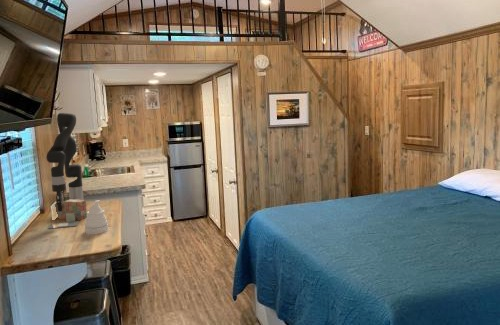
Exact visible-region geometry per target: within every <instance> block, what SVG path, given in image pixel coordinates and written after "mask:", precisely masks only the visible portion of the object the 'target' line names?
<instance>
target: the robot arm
mask: <svg viewBox="0 0 500 325" xmlns="http://www.w3.org/2000/svg"><path fill="white" fill-rule="evenodd" d="M56 123H57V127H58V131H59V134H57V135H56V137H55V140H54V142H53V144H52V146H51V147H50V149H49V150H48V151H47V153H46V157H45V159H46V161H47V162H48V163H50V164H56V163H57V165H55V166H53V167H51V168H50V172H51V173H50V174H51V175H50V176H51V180H50V181H51V190H52V192H55V193H56V194H55V201H56V202H55V203H57V205H58V211H62V202H64V201H65V198H64V191H66V179H65V177H67V178H70V179H71V178H76V179H74V180H73V181H70V182H68V193H69V194H68V195H69V196H68V197H69V200H70V199H73V200H85V199H84V190H83V188H84V187H83V177H82V176H83V175H82V166H81V164H78V163H77V164H70V163H71V161H72V159H73V158H74V157H75V155H76V153H77V150H78V148H77V143H76V139H74V137H73V136H72V133H73V131H74V129H75V127H76V124H77V117H76V114H74V113H67V112H66V113H65V112H59V113H57V117H56ZM59 202H60V203H59Z"/></svg>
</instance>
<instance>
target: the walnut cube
mask: <svg viewBox="0 0 500 325" xmlns="http://www.w3.org/2000/svg"><path fill="white" fill-rule="evenodd" d="M58 203H60V202H58ZM54 205H55V207H56V212H64V211H65V210H66V206H65V202H64V201H63V202H62V211H58V205H57V202H55V204H54Z"/></svg>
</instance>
